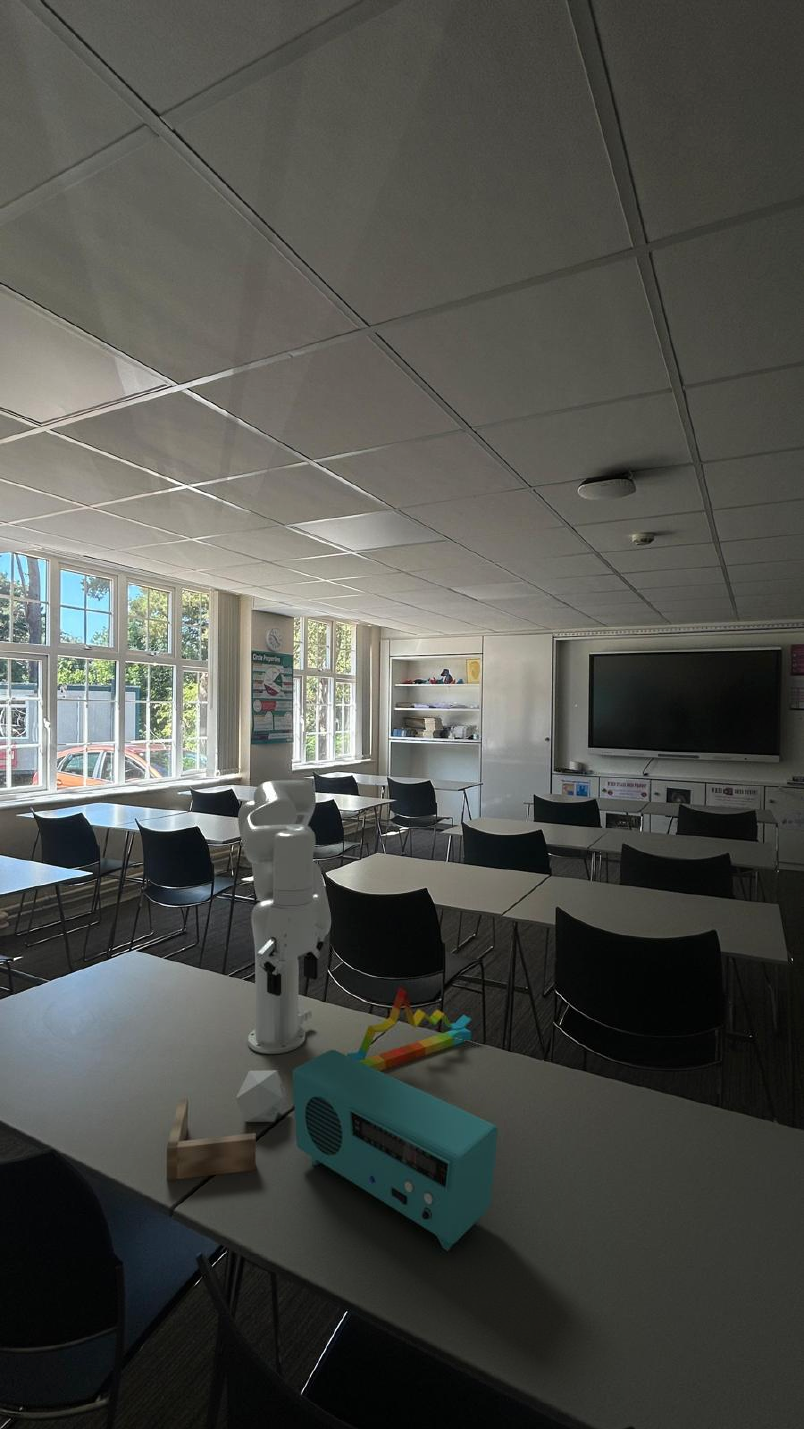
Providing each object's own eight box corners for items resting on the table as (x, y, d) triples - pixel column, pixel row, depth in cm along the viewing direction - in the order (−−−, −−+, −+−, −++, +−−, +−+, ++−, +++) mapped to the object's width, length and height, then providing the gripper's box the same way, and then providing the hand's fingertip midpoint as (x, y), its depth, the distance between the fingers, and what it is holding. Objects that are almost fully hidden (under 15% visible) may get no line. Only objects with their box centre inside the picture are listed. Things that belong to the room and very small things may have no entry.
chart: (461, 1034, 154) (462, 968, 154) (470, 1040, 151) (471, 973, 151) (345, 1073, 137) (346, 1000, 137) (353, 1080, 134) (353, 1005, 134)
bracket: (183, 1125, 119) (183, 1096, 119) (260, 1166, 108) (260, 1135, 108) (130, 1157, 110) (130, 1127, 110) (207, 1205, 99) (207, 1172, 99)
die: (261, 1142, 115) (293, 1087, 118) (220, 1112, 117) (253, 1059, 120) (269, 1131, 123) (299, 1080, 126) (231, 1103, 124) (261, 1054, 127)
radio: (285, 1162, 109) (286, 1070, 109) (332, 1132, 117) (332, 1046, 117) (456, 1277, 87) (457, 1161, 87) (499, 1230, 95) (500, 1124, 95)
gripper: (310, 884, 138) (310, 968, 138) (245, 902, 124) (244, 995, 124) (337, 889, 133) (337, 976, 133) (273, 909, 119) (272, 1005, 119)
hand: (292, 985), depth 128 cm, fingers open, 9 cm apart
